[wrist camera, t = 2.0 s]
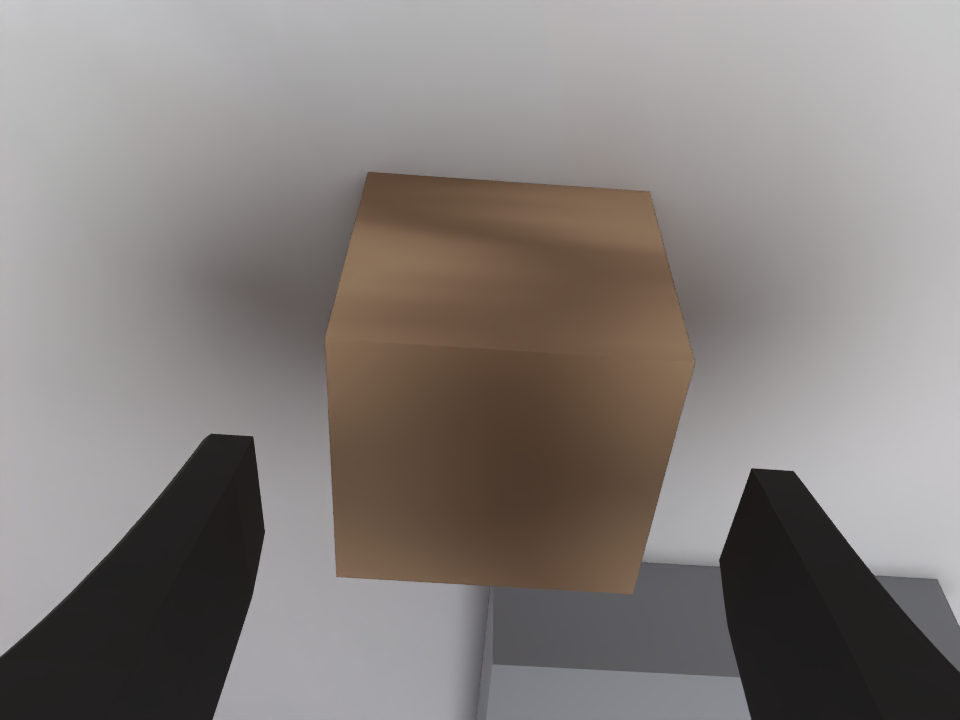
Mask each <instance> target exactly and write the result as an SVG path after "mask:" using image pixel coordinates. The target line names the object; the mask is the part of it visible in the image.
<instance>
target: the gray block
mask: <svg viewBox="0 0 960 720" xmlns="http://www.w3.org/2000/svg"><path fill="white" fill-rule="evenodd" d="M875 577H876V578H877V580H878V581H879V582H880V583H881V584H882V586H883V587H884V588H885V589H886V591H887V592H888V593H889V594H890V595H891V597H892V598H893V599H894V600H895V602H896V603H897V604H898V605H899V606H900V607H901V609H902V610H903V611H904V612H905V613H906V614H907V616H908V617H909V618H910V619H911V620H912V621H913V622H914V624H915V625H916V626H917V627H918V628H919V629H920V630H921V631H922V632H923V633H924V635H925V636H926V637H927V638H928V639H929V640H930V641H931V642H932V643H933V645H934V646H935V647H936V648H937V649H938V650H939V651H940V652H941V653H942V654H943V655H944V656H945V658H946V659H947V660H948V661H949V662H950V663H951V664H952V665H953V666H954V667H955V668H956V669H957V670H958V671H959V672H960V627H959V625H958V623H957V620H956V618H955V616H954V614H953V612H952V610H951V608H950V605H949V603H948V601H947V599H946V597H945V595H944V593H943V591H942V588H941V586H940V584H939V582H938V580H937V579H924V578H907V577H889V576H875ZM476 720H751V717H750V713H749V709H748V705H747V701H746V697H745V694H744V690H743V686H742V682H741V678H740V674H739V670H738V666H737V662H736V658H735V654H734V650H733V647H732V643H731V638H730V634H729V630H728V626H727V619H726V612H725V604H724V597H723V588H722V580H721V571H720V567H713V566H695V565H678V564H660V563H642V562H641V565H640V569H639V573H638V576H637V580H636V584H635V587H634V591H633V594H619V593H602V592H585V591H568V590H551V589H534V588H517V587H500V586H490V592H489V602H488V611H487V621H486V630H485V639H484V649H483V658H482V668H481V677H480V686H479V696H478V705H477V715H476Z"/></svg>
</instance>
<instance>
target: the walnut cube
mask: <svg viewBox="0 0 960 720" xmlns="http://www.w3.org/2000/svg"><path fill="white" fill-rule="evenodd" d="M325 352H326V372H327V393H328V413H329V434H330V454H331V475H332V495H333V516H334V536H335V557H336V577H347V578H364V579H381V580H398V581H415V582H432V583H449V584H466V585H483V586H500V587H517V588H534V589H551V590H568V591H585V592H602V593H619V594H633V591H634V587H635V584H636V580H637V576H638V573H639V569H640V565H641V561H642V558H643V554H644V550H645V547H646V543H647V539H648V535H649V532H650V528H651V524H652V521H653V517H654V513H655V509H656V506H657V502H658V498H659V494H660V491H661V487H662V483H663V480H664V476H665V472H666V468H667V465H668V461H669V457H670V454H671V450H672V446H673V442H674V439H675V435H676V431H677V428H678V424H679V420H680V416H681V413H682V409H683V405H684V401H685V398H686V394H687V390H688V387H689V383H690V379H691V375H692V372H693V368H694V364H695V361H694V357H693V353H692V349H691V346H690V342H689V338H688V334H687V331H686V327H685V323H684V319H683V316H682V312H681V308H680V304H679V301H678V297H677V293H676V289H675V286H674V282H673V278H672V274H671V271H670V267H669V263H668V259H667V256H666V252H665V248H664V244H663V241H662V237H661V233H660V229H659V226H658V222H657V218H656V214H655V211H654V207H653V203H652V199H651V196H650V192H647V191H633V190H618V189H604V188H590V187H575V186H561V185H547V184H532V183H518V182H504V181H489V180H475V179H461V178H446V177H432V176H418V175H404V174H389V173H375V172H368V174H367V178H366V182H365V186H364V190H363V193H362V197H361V201H360V205H359V209H358V213H357V217H356V220H355V224H354V228H353V232H352V236H351V240H350V243H349V247H348V251H347V255H346V259H345V263H344V267H343V270H342V274H341V278H340V282H339V286H338V290H337V294H336V297H335V301H334V305H333V309H332V313H331V317H330V320H329V324H328V328H327V332H326V336H325Z"/></svg>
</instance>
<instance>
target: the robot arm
mask: <svg viewBox="0 0 960 720" xmlns="http://www.w3.org/2000/svg"><path fill="white" fill-rule="evenodd" d="M264 534H265V529H264V521H263V513H262V504H261V496H260V488H259V479H258V471H257V463H256V455H255V446H254V438H253V436H238V435H222V434H210V435H209V436H207V437H206V438H205V439H204V440H203V441H202V442H201V444H200V445H199V446H198V448H197V449H196V450H195V451H194V453H193V454H192V455H191V457H190V458H189V459H188V461H187V462H186V463H185V464H184V466H183V467H182V468H181V470H180V471H179V472H178V473H177V475H176V476H175V477H174V478H173V480H172V481H171V482H170V483H169V485H168V486H167V487H166V488H165V489H164V491H163V492H162V493H161V494H160V496H159V497H158V498H157V499H156V500H155V502H154V503H153V504H152V505H151V506H150V508H149V509H148V510H147V511H146V512H145V513H144V514H143V516H142V517H141V518H140V519H139V520H138V521H137V522H136V524H135V525H134V526H133V527H132V528H131V529H130V530H129V532H128V533H127V534H126V535H125V536H124V537H123V538H122V540H121V541H120V542H119V543H118V544H117V545H116V546H115V547H114V548H113V549H112V551H111V552H110V553H109V554H108V555H107V556H106V557H105V558H104V559H103V560H102V561H101V562H100V563H99V564H98V565H97V566H96V567H95V568H94V569H93V570H92V571H91V572H90V573H89V574H88V575H87V577H86V578H85V579H84V580H83V581H82V582H81V583H80V584H79V585H78V586H77V587H76V588H75V589H74V590H73V591H72V592H71V593H70V594H69V595H68V596H67V597H66V598H65V599H64V600H63V601H62V602H61V603H60V604H59V605H58V606H57V607H55V608H54V609H53V610H52V611H51V612H50V613H49V614H48V615H47V616H46V617H45V618H44V619H43V620H42V621H41V622H39V623H38V624H37V625H36V626H35V627H34V628H33V629H32V630H31V631H29V632H28V633H27V634H26V635H25V636H24V637H23V638H22V639H20V640H19V641H18V642H17V643H16V644H15V645H14V646H13V647H11V648H10V649H9V650H8V651H7V652H6V653H4V654H3V655H2V656H1V657H0V720H213V716H214V713H215V710H216V707H217V704H218V701H219V698H220V695H221V692H222V689H223V686H224V683H225V680H226V677H227V674H228V671H229V667H230V664H231V661H232V658H233V655H234V652H235V649H236V646H237V643H238V640H239V637H240V634H241V630H242V627H243V624H244V621H245V618H246V615H247V612H248V608H249V605H250V602H251V599H252V595H253V590H254V585H255V580H256V576H257V571H258V566H259V560H260V555H261V550H262V545H263V539H264ZM719 562H720V571H721V580H722V588H723V597H724V604H725V612H726V619H727V626H728V630H729V634H730V638H731V643H732V647H733V650H734V654H735V658H736V662H737V666H738V670H739V674H740V678H741V682H742V686H743V690H744V694H745V697H746V701H747V705H748V709H749V713H750V717H751V720H960V672H959V671H958V670H957V669H956V668H955V667H954V666H953V665H952V664H951V663H950V662H949V661H948V660H947V659H946V658H945V656H944V655H943V654H942V653H941V652H940V651H939V650H938V649H937V648H936V647H935V646H934V645H933V643H932V642H931V641H930V640H929V639H928V638H927V637H926V636H925V635H924V633H923V632H922V631H921V630H920V629H919V628H918V627H917V626H916V625H915V624H914V622H913V621H912V620H911V619H910V618H909V617H908V616H907V614H906V613H905V612H904V611H903V610H902V609H901V607H900V606H899V605H898V604H897V603H896V602H895V600H894V599H893V598H892V597H891V595H890V594H889V593H888V592H887V591H886V589H885V588H884V587H883V586H882V584H881V583H880V582H879V581H878V580H877V578H876V577H875V576H874V575H873V573H872V572H871V571H870V570H869V569H868V567H867V566H866V565H865V564H864V562H863V561H862V560H861V559H860V557H859V556H858V555H857V553H856V552H855V551H854V550H853V548H852V547H851V546H850V545H849V543H848V542H847V541H846V539H845V538H844V537H843V535H842V534H841V533H840V531H839V530H838V529H837V528H836V526H835V525H834V524H833V522H832V521H831V520H830V518H829V517H828V516H827V514H826V513H825V512H824V510H823V509H822V508H821V506H820V505H819V504H818V502H817V501H816V500H815V498H814V497H813V496H812V495H811V493H810V492H809V491H808V489H807V488H806V487H805V485H804V484H803V483H802V481H801V480H800V479H799V478H798V476H797V475H796V474H795V472H794V471H784V470H768V469H753V468H752V469H751V472H750V475H749V477H748V480H747V483H746V486H745V489H744V492H743V494H742V497H741V500H740V503H739V506H738V509H737V511H736V514H735V517H734V520H733V523H732V526H731V528H730V531H729V534H728V537H727V540H726V543H725V545H724V548H723V551H722V554H721V557H720V560H719Z"/></svg>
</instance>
